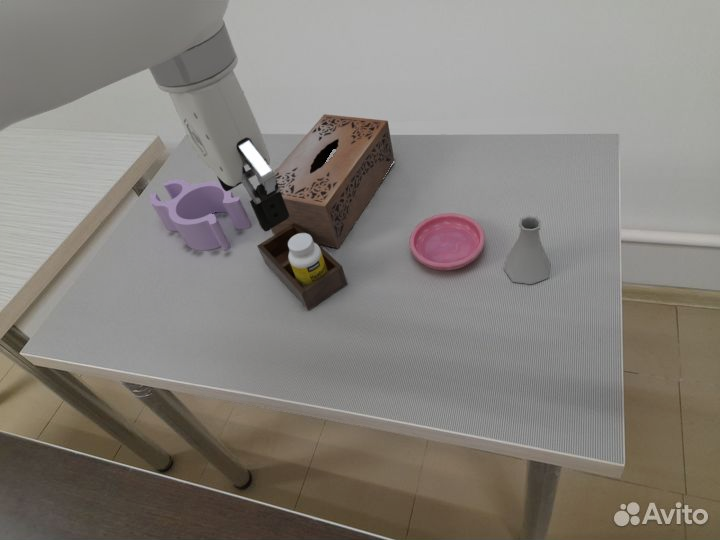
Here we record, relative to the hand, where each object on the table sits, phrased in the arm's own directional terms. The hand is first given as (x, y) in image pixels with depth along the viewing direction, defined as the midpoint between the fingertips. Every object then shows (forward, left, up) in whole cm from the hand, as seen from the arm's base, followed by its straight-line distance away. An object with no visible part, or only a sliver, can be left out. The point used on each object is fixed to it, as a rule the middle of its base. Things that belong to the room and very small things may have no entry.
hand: (255, 203), depth 58 cm
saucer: (+28, +2, -31) cm, 41 cm away
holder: (+7, +16, -30) cm, 35 cm away
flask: (+34, -10, -31) cm, 47 cm away
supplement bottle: (+7, +12, -30) cm, 33 cm away
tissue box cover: (+23, +29, -30) cm, 47 cm away
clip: (-1, +43, -31) cm, 53 cm away
